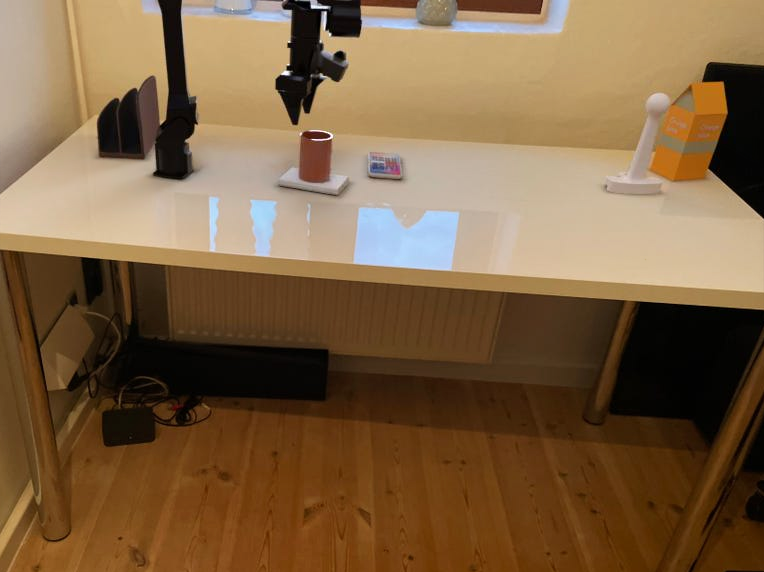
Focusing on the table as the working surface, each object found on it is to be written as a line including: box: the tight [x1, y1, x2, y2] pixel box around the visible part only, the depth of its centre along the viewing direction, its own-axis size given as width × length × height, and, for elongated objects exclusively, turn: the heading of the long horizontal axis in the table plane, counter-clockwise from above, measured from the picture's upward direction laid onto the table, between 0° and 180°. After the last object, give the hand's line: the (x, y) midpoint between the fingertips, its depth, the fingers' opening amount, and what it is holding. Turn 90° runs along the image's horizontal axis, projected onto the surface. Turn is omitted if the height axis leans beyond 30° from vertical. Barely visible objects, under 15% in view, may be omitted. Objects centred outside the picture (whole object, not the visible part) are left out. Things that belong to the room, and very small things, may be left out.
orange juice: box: [649, 81, 729, 182], centre depth 161 cm, size 8×9×20 cm
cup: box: [297, 129, 334, 183], centre depth 147 cm, size 6×6×8 cm
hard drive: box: [278, 167, 350, 196], centre depth 150 cm, size 2×8×12 cm
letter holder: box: [96, 75, 161, 160], centre depth 163 cm, size 10×20×14 cm, turn 179°
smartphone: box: [367, 151, 403, 180], centre depth 161 cm, size 7×1×15 cm
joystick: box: [603, 92, 671, 195], centre depth 152 cm, size 11×8×20 cm
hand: (301, 119), depth 148 cm, fingers open, 9 cm apart
